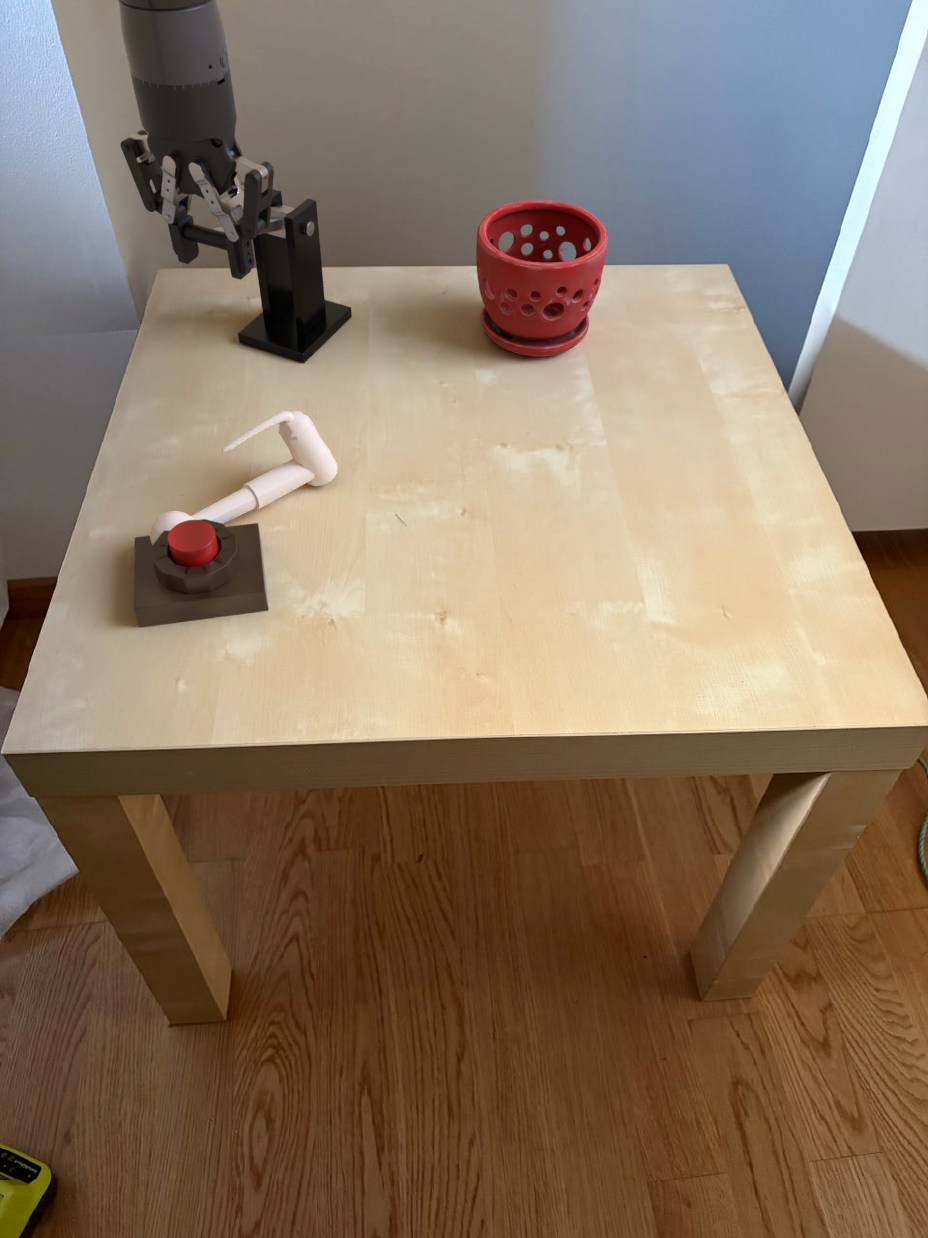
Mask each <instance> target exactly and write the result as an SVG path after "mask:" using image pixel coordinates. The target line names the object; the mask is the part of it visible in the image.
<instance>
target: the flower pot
mask: <svg viewBox="0 0 928 1238" xmlns="http://www.w3.org/2000/svg"><path fill="white" fill-rule="evenodd" d="M526 225H530V226H531V228H532V230H531V232H530V233H529V234H527V235H524V234H523V233H522V228H524V226H526ZM559 227H560V228H563V230H564V233H563V234H559V232H558V229H557V228H559ZM507 232H509V233H511V234H512V236H513V241H512V243H511V245H510V246H509V248H507V249H506V250H501V249H500V246H499V242H500V239H501V237H502V235H503V234H505V233H507ZM542 233H547V235H548V237H547V238H546V239H545V238H541V234H542ZM587 239H588V241H589V243H590V248H588V246H587ZM608 242H609V235H608V231H607V229H606V227H605V225H604V223H603V222H602V221H601V220H600V219H599V218H598V217H597V216H595V215H594V214H592V213H591V212H590V211H588V210H586V209H585V208H582V207H580V206H577V205H574V204H571V203H567V202H562V201H557V200H549V199H548V200H547V199H527V200H525V199H524V200H519V201H513V202H509V203H506V204H503V205H500V206H497V207H496V208H494V209H492V210H491V211H490V212H488V213H487V214H486V215H485V216H484V217H483V218H482V219H481V221H480V223H479V225H478V226H477V230H476V245H475V247H476V249H475V251H476V252H475V260H476V261H475V263H476V275H477V282H478V290H479V294H480V297H481V300H482V303H483V305H484V306H483V307H482V310H481V312H480V313H481V315H480V321H481V325H482V328H483V331H484V332H485V334H486V335H487V336H488V337H489V338H490V339H491V341H492V342H494V343H495V344H496V345H498V346H499V347H501V348H503V349H504V350H506V351H509V352H512V353H514V354H518V355H523V356H528V357H549V356H555V355H559V354H562V353H565V352H567V351H569V350H571V349H572V348H574V347H575V346H577V345H578V344H579V343H581V342H582V340H584V338H585V337H586V335H587V333H588V331H589V327H590V317H589V314H588V313H589V312H590V310H591V308H592V306H593V304H594V302H595V300H596V298H597V296H598V292H599V289H600V286H601V284H602V275H603V271H604V267H605V263H606V259H607V252H608V244H609V243H608ZM564 243H570V244H572V245H573V248H574V249H575V256H574V259H570V260H566V259H565V258H564V257H563V256H562V253H561V246H562V244H564ZM525 244H531V245H532V251H531V252H530V253H528V254H524V253H523V251H522V248H523V246H524V245H525ZM546 251H549V252H551V254H552V255H551V257H549V258H548V257H546V256H545V255H544V254H545V252H546Z"/></svg>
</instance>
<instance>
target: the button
mask: <svg viewBox="0 0 928 1238" xmlns="http://www.w3.org/2000/svg"><path fill="white" fill-rule="evenodd" d="M168 543H169V547H170V550H171V554H172V557H173V559H174V561H175V562H176V563H178V564H179V565H181V566H185V567H195V566H203V565H205V564H207V563H209V562H210V561H212V560H213V559H214V558H215V557H216V555H217V553H218V544H217V539H216V535H215V531H214V528H213V527H212V526H211V525H210V524H209V523H207V522H205V521H201V520H188V521H184V522H181V523H179V524H177V525H176V526H174V527H173V528H172V529H171V530H170V532H169V534H168Z"/></svg>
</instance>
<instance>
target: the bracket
mask: <svg viewBox="0 0 928 1238" xmlns="http://www.w3.org/2000/svg"><path fill="white" fill-rule="evenodd" d="M283 204H284V203H283V194H282V191H280V190H277V189H274V188H273V190H272V203H271V207H276V206H282V205H283ZM317 207H318V205H317V200H315V199H312V198H306V199H305V200H304V201H303V202H300V204H299V205H297V206H296V207H294V208H295V209H294V210H292V211H291V212H290V213H288V214H287V215H286V216H285V217H284V222H285V231H286V239H285V238H281V237H277V236H274V235H270V234H267V233H264V234H260V235H257V236H256V237H255V238H254V239H252V247H253V254H254V261H255V265H256V266H255V267H256V273H257V274H256V275H257V280H258V281H257V282H258V288H259V294H260V295H259V296H260V300H261V301H260V302H261V303H260V304H261V310H262V311H261V313H259V314H258V315H257V316H256V317H255V318H253V319H252V320H251V321H250V322H249V323H248V324H247V325H245V326H244V327H243V328H242V329H241V330H239V332H237V338H238V343H239V344H241V345H244V346H248V347H251V348H253V349H254V348H255V349H257V350H261V351H264V352H268V353H270V354H273V355H277V356H280V357H283V358H287V359H289V360H292V361H295V362H299V363H302V364H305V363H306V362H307V361H308V360H310V358H311V357H312V356H314V354H315V353H317V351H319V349H321V348H322V347H323V345H325V343H327V342H328V341H329V340H330V339H331V338H332V337H333V336H334V335H335V334H336V333H338V331H339V330H340V329H341V328H342V327H343V326H345V324H346V323H347V322H348V321H350V319H351V318H352V316H353V314H352V313H353V312H352V307H351V306H348V305H344V304H341V303H338V302H334V301H331V300H327V299H325V289H324V288H325V286H324V277H323V276H324V275H323V264H322V253H321V241H320V229H319V217H318V208H317Z"/></svg>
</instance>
